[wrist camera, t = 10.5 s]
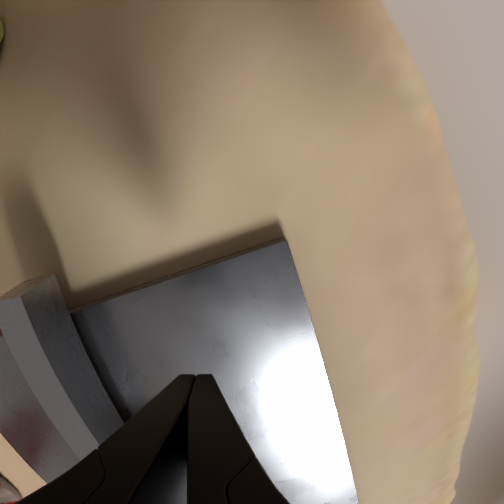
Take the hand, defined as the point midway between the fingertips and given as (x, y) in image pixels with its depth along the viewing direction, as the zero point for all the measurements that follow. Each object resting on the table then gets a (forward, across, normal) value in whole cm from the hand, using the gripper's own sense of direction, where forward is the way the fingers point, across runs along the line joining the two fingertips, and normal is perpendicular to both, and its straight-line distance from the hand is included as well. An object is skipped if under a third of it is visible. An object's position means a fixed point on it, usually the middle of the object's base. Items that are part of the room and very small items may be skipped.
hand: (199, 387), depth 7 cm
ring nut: (+4, +5, +6) cm, 9 cm away
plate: (+5, +5, +11) cm, 13 cm away
